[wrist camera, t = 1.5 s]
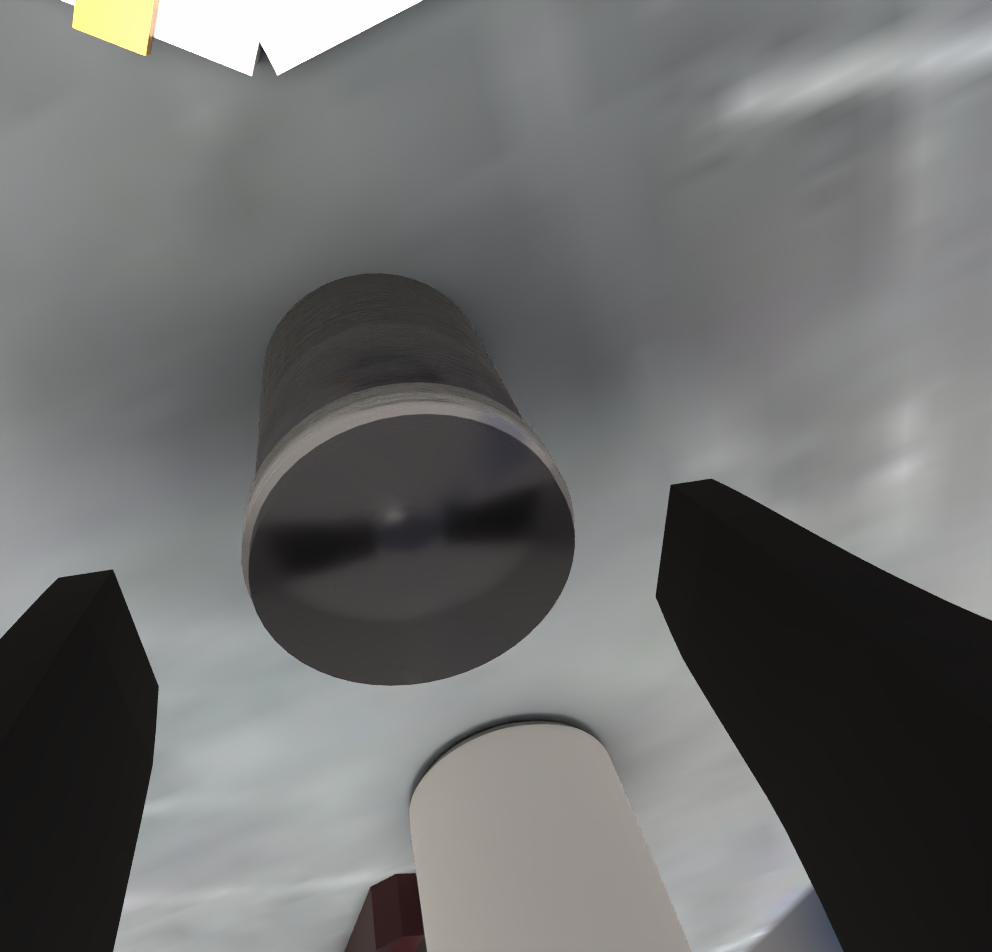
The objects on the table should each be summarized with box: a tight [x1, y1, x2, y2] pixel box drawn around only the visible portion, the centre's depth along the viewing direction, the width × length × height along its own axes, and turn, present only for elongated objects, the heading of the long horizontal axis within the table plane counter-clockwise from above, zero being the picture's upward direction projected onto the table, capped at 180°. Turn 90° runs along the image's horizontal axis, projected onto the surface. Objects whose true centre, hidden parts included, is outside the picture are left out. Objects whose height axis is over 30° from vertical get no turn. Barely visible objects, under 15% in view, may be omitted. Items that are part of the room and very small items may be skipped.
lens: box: [242, 274, 575, 686], centre depth 12 cm, size 5×5×6 cm
